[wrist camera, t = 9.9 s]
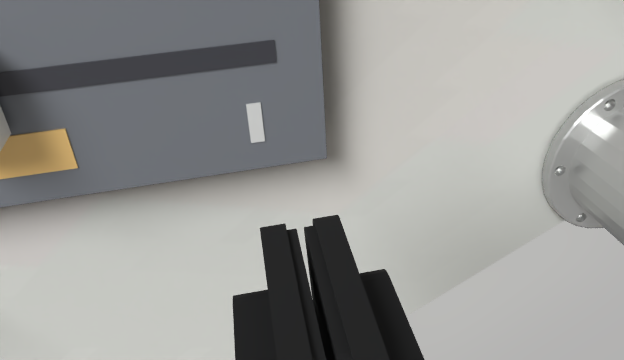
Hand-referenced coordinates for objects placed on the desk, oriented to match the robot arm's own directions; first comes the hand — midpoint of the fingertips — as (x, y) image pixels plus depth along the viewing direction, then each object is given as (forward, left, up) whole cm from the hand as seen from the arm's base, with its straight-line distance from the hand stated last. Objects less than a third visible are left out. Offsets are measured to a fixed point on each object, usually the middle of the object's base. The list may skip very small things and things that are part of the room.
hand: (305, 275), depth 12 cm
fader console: (+8, +2, -22) cm, 24 cm away
